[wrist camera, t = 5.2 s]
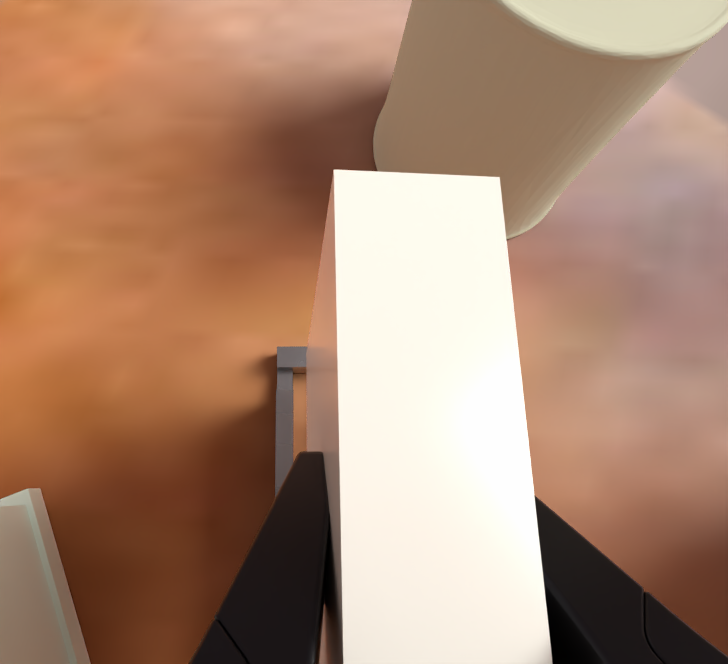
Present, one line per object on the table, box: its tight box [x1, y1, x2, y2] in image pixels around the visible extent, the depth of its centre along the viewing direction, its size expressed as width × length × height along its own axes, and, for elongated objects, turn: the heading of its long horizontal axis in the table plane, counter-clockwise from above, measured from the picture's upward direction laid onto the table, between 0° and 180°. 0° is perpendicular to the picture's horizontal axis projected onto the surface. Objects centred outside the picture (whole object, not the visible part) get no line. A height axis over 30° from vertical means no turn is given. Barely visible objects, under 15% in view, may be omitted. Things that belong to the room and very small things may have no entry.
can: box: [373, 0, 728, 240], centre depth 21 cm, size 9×9×12 cm
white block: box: [306, 170, 553, 664], centre depth 11 cm, size 10×2×10 cm, turn 2°
